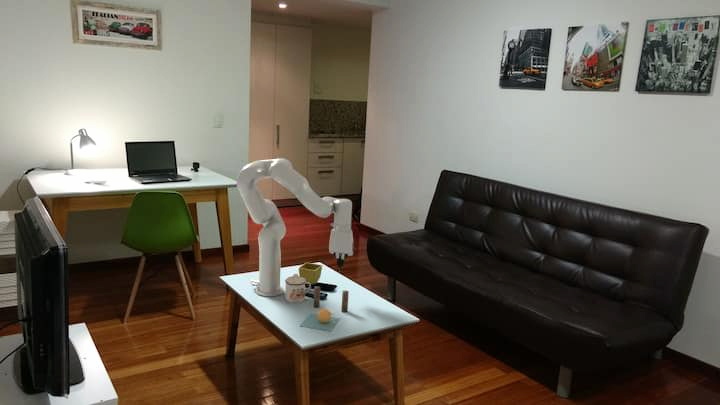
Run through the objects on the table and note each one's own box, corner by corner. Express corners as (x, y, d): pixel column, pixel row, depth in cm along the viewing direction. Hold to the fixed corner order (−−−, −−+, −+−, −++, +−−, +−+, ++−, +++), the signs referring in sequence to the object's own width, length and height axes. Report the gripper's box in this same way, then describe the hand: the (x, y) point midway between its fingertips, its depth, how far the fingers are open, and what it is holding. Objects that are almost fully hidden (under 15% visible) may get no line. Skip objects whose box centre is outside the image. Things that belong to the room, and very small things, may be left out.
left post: (312, 307, 240) (313, 288, 239) (314, 305, 243) (315, 286, 241) (318, 308, 240) (319, 288, 238) (320, 306, 242) (321, 286, 240)
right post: (340, 312, 238) (341, 292, 236) (342, 309, 240) (343, 290, 238) (346, 312, 237) (347, 293, 235) (348, 310, 239) (349, 290, 238)
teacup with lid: (289, 304, 243) (290, 279, 240) (281, 297, 250) (282, 272, 248) (314, 300, 249) (315, 275, 246) (306, 293, 256) (306, 269, 254)
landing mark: (299, 326, 222) (299, 325, 222) (310, 313, 234) (310, 313, 234) (330, 331, 219) (330, 330, 219) (340, 318, 231) (340, 317, 231)
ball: (316, 308, 225) (320, 309, 230) (315, 321, 223) (319, 323, 228) (329, 308, 224) (333, 310, 229) (328, 322, 222) (332, 323, 227)
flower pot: (314, 288, 262) (315, 270, 260) (297, 285, 265) (298, 267, 263) (322, 282, 270) (322, 265, 268) (305, 279, 273) (306, 262, 271)
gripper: (323, 227, 243) (321, 267, 247) (356, 231, 240) (354, 271, 244) (328, 223, 250) (326, 262, 254) (360, 226, 247) (358, 266, 251)
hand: (340, 266), depth 249 cm, fingers closed
